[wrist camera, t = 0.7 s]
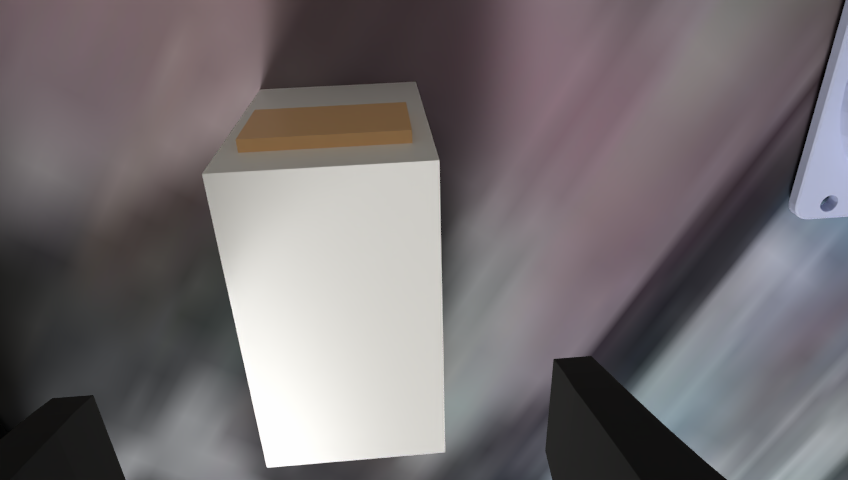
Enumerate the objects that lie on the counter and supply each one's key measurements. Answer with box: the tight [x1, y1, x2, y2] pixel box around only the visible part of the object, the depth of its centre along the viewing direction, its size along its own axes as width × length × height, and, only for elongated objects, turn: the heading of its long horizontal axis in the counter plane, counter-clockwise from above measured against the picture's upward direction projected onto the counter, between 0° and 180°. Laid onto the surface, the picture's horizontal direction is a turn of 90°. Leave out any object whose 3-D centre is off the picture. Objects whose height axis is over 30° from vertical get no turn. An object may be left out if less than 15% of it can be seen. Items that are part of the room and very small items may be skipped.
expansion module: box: [202, 82, 445, 468], centre depth 14 cm, size 4×7×6 cm, turn 2°
